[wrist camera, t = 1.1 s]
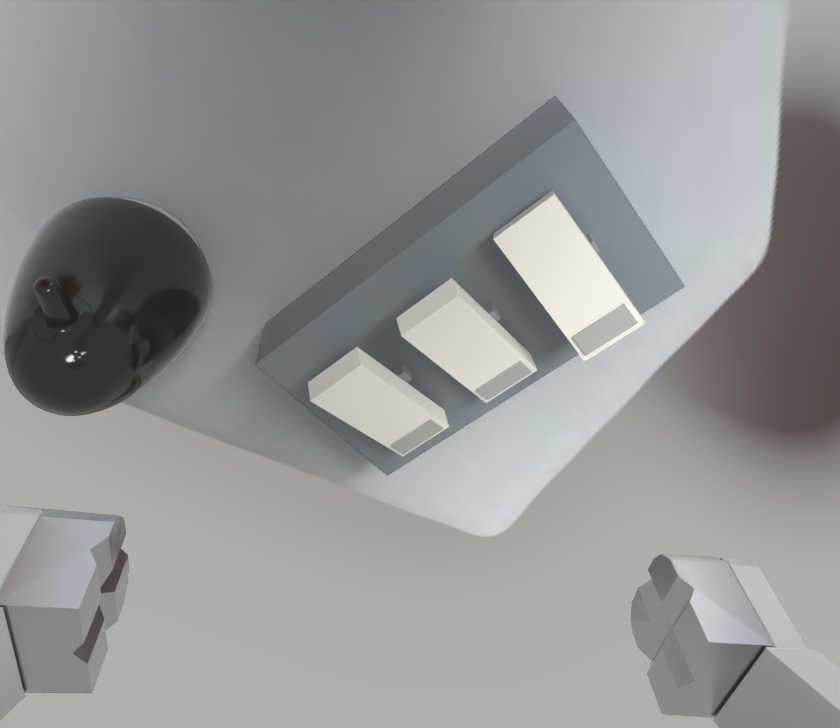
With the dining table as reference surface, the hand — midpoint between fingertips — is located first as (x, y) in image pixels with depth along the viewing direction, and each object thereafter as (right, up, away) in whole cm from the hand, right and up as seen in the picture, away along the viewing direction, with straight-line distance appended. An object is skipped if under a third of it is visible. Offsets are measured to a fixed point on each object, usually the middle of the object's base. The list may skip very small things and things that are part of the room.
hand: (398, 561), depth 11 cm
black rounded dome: (-18, +10, +34) cm, 40 cm away
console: (+3, +8, +37) cm, 38 cm away
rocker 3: (+9, +8, +29) cm, 31 cm away
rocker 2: (+3, +4, +31) cm, 31 cm away
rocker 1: (-2, 0, +33) cm, 33 cm away
